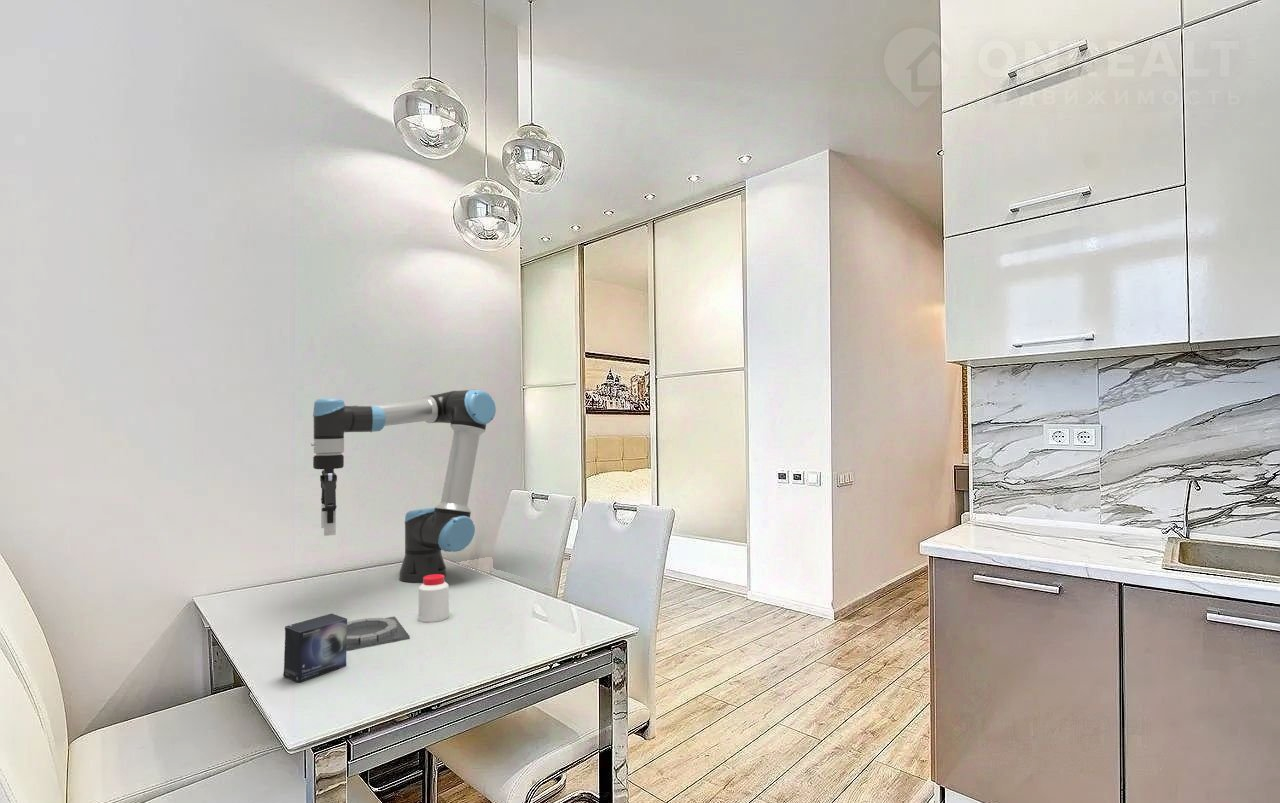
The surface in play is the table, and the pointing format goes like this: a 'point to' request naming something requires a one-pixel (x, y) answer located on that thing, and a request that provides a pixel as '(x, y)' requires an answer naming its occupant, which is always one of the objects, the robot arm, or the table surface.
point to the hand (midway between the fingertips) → (328, 531)
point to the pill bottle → (433, 599)
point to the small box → (315, 647)
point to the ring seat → (374, 632)
